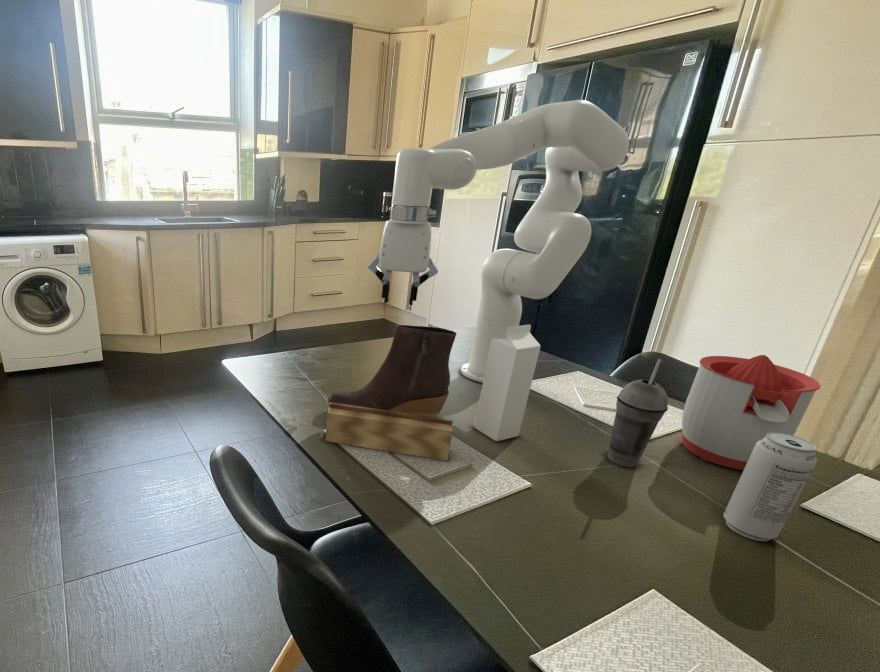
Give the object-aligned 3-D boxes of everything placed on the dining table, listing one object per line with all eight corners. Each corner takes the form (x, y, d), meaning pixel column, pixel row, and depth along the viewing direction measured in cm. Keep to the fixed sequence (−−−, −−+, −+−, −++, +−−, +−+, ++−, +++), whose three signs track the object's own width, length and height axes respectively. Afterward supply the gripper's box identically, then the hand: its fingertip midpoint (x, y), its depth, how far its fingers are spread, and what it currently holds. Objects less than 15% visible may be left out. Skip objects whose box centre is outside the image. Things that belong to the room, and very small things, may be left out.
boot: (326, 402, 106) (332, 314, 99) (438, 410, 104) (453, 321, 97) (325, 421, 98) (333, 326, 91) (447, 430, 96) (464, 334, 89)
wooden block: (446, 452, 89) (452, 419, 86) (447, 460, 86) (453, 427, 84) (327, 433, 94) (330, 402, 91) (325, 441, 91) (327, 408, 88)
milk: (518, 436, 95) (546, 329, 87) (495, 442, 93) (521, 332, 84) (494, 422, 100) (518, 320, 92) (472, 427, 98) (494, 322, 89)
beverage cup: (638, 453, 90) (674, 353, 83) (652, 474, 84) (692, 367, 76) (594, 446, 92) (625, 347, 85) (604, 466, 86) (639, 361, 78)
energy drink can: (757, 520, 73) (800, 433, 68) (786, 547, 68) (835, 455, 62) (712, 513, 74) (750, 427, 69) (736, 539, 69) (780, 449, 63)
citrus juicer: (689, 471, 85) (732, 366, 78) (658, 427, 100) (692, 335, 93) (803, 493, 80) (861, 383, 72) (753, 443, 95) (797, 347, 87)
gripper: (451, 215, 100) (438, 302, 107) (368, 211, 104) (361, 295, 110) (454, 218, 93) (439, 310, 100) (365, 214, 97) (357, 303, 104)
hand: (398, 301), depth 105 cm, fingers open, 4 cm apart
